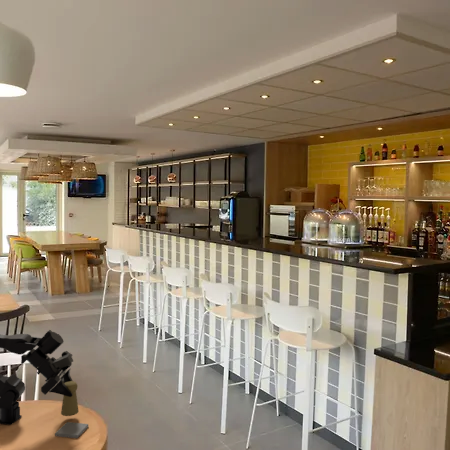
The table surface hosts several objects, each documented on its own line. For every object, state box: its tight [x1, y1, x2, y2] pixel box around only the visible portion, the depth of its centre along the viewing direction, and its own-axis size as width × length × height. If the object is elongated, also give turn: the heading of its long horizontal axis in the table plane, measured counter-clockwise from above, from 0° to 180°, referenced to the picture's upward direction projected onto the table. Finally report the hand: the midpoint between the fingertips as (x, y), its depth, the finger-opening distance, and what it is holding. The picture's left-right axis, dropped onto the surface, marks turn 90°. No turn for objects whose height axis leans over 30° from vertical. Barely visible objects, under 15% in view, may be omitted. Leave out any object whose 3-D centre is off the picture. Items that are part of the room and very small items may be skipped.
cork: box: [60, 380, 79, 417], centre depth 165 cm, size 6×6×11 cm
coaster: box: [54, 421, 89, 439], centre depth 156 cm, size 8×8×1 cm
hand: (73, 392), depth 165 cm, fingers closed on cork, 5 cm apart
